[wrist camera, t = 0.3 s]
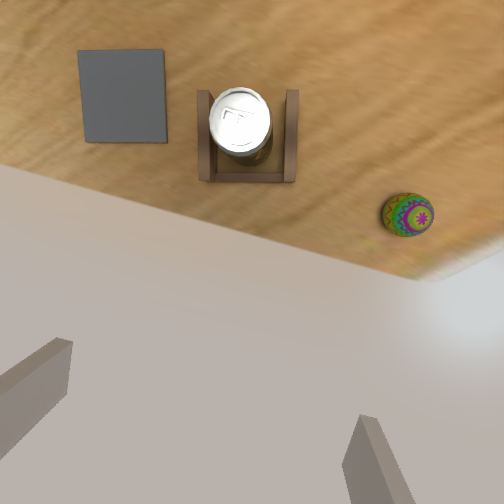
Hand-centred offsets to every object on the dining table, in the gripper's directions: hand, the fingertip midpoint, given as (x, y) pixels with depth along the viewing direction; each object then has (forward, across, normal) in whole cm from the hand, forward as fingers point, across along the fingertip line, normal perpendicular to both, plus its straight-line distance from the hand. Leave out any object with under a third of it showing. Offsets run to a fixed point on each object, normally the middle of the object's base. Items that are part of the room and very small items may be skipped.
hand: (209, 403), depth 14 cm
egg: (+26, +16, +10) cm, 32 cm away
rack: (+26, -3, +14) cm, 30 cm away
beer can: (+26, -4, +14) cm, 30 cm away
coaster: (+26, -19, +16) cm, 36 cm away
